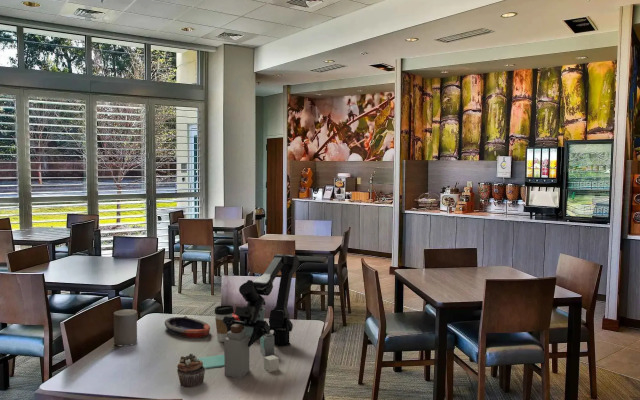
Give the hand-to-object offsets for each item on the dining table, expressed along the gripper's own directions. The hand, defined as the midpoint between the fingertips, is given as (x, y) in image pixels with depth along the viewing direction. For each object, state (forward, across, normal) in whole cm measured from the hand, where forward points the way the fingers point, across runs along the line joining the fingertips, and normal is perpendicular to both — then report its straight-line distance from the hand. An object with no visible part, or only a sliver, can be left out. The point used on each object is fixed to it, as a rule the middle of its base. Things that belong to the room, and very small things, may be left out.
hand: (237, 344), depth 193 cm
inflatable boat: (-15, -48, +30) cm, 59 cm away
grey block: (+2, +10, +13) cm, 16 cm away
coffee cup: (-14, -26, +28) cm, 41 cm away
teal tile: (+4, -14, +11) cm, 18 cm away
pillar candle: (+1, -64, +14) cm, 65 cm away
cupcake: (+18, -10, -3) cm, 21 cm away
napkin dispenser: (-8, 0, +22) cm, 24 cm away
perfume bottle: (+8, 0, +7) cm, 11 cm away
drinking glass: (-22, -18, +36) cm, 46 cm away
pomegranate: (-26, -31, +41) cm, 58 cm away
